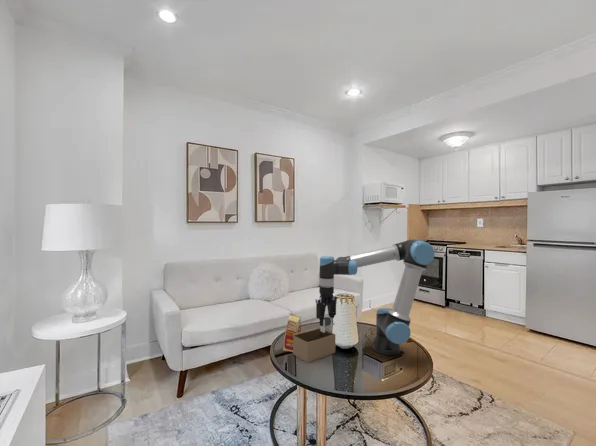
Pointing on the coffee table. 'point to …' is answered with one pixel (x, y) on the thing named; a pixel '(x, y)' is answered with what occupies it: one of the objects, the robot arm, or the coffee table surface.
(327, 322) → the carton lid
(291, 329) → the milk carton
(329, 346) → the carton
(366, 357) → the coffee table surface
